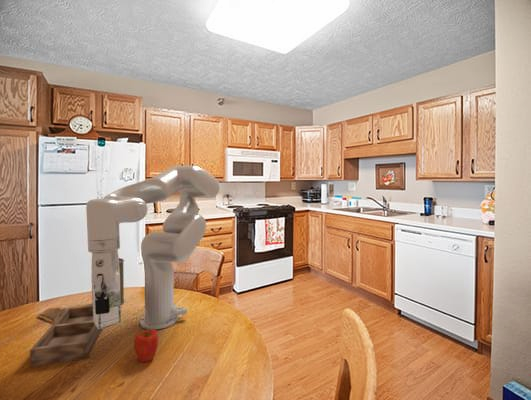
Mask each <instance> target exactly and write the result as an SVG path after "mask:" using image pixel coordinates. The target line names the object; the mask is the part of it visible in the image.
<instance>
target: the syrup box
mask: <svg viewBox="0 0 531 400" xmlns="http://www.w3.org/2000/svg"><path fill="white" fill-rule="evenodd" d="M90 276H91V279H92V273H91V275H90ZM115 281H116V284H115V286H114V287H113V288H110V287H109V289H108V298H109V305H110V311H109V313H105V314H96V313H95V292H94V290H95V289H93V287H92V286H91V294H92V295H91V298H92V302H91V303H92V304H91V305H93V322H94V324H95V325H96V327H97V328H98V329H103V330H104V329H105V328H109V327H111V326H114V325H117V324H120V323H121V322H122V312H121V311H122V307H121V306H122V305H121V303H120V274H119V273H118V272H116V275H115ZM102 287H106V285H104V284H102ZM102 292H104V294H105V290H102Z"/></svg>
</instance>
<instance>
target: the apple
mask: <svg viewBox="0 0 531 400" xmlns="http://www.w3.org/2000/svg"><path fill="white" fill-rule="evenodd" d="M133 339H134V340H133V347H134V353H135V355H136V358H137V359H138V360H139V361H141V362H143V363H147V362H150V361H151V360H153V359H154V357H155V356H156V353H157V349H158V344H159V335H158V332H157V331H156V329H155V330H152V329H145V330H142V331H140V332H138V333H136V335H135V337H134V338H133Z"/></svg>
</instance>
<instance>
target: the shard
mask: <svg viewBox="0 0 531 400" xmlns="http://www.w3.org/2000/svg"><path fill="white" fill-rule="evenodd" d="M67 308H68V307H67ZM67 308H66V307H62V306H60V307H50V308H49V307H48V308H46V309H44V310H43V311H42V312H40V313H39V314H38V315H37V317H38V318H39V319H43V320H45V321H47V322H49V323H51V324H52V323H53V324H54V323H55V322H56V320H57V319H58V318H59V317H60V316H61V315H62V314H63V313H64V312H65V310H66V309H67Z"/></svg>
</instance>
